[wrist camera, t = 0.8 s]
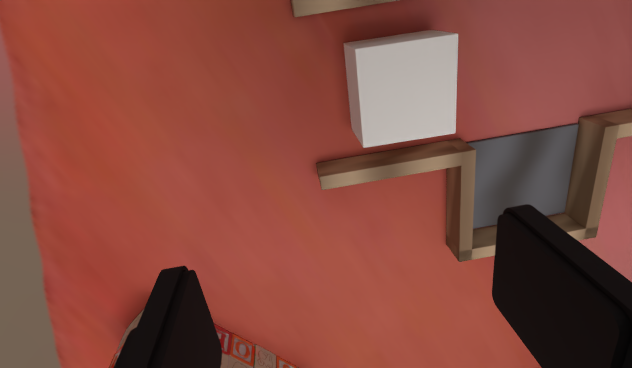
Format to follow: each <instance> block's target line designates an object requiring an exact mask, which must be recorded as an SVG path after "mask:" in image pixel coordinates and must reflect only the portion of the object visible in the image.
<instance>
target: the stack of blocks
mask: <svg viewBox="0 0 632 368" xmlns="http://www.w3.org/2000/svg"><path fill="white" fill-rule="evenodd" d="M143 311H144V310H143ZM143 311H142V312H141V313H140V314H139V315H138V316H137V317H136V318H135V319H134V321H133V322H132V323H131V324H130V325H129V327H128V328H127V329H126V331H125V333H124V335H123V337H122V340H121V342H120V344H119V347H118V349H117V352H116V353H115V355H114V357H113V359H112V361H111V364H110V366H109V368H113V367H114V365H115V363H116V361H117V358H118V356H119V354H120V352H121V349H122V347H123V345H124V343H125V340H126V338H127V336H128V334H129V333H130V331H131V330H132V329H134V328H136V327H137V325H138V323H139V320H140V318H141V316H142V313H143ZM214 326H215V329H216V331H217V334H218V337H219V340H220V343H221V347H222V361H221V368H297V367H296V366H295V365H293V364H291V363H289V362H288V361H286V360H284V359H282V358H280V357H278V356H276V355H275V354H273V353H271V352H269V351H267V350H265V349H264V348H262V347H260V346H258V345H254V344H252V343H251V342H248V341H246V340H245V339H243V338H241V337H239V336H237V335H235V334H232V333H230V332H229V331H227V330H225V329H223V328H221V327H219V326H217V325H216V324H214Z"/></svg>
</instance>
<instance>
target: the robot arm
mask: <svg viewBox="0 0 632 368" xmlns="http://www.w3.org/2000/svg"><path fill="white" fill-rule="evenodd" d="M492 296H493V300H494V303H495V305H496V306H497V308H498V309H499V311H500V312H501V313H502V315H503V316H504V317H505V319H506V320H507V321H508V323H509V324H510V325H511V327H512V328H513V329H514V331H515V332H516V333H517V335H518V336H519V337H520V339H521V340H522V342H523V343H524V344H525V346H526V347H527V348H528V350H529V351H530V352H531V354H532V355H533V356H534V358H535V359H536V360H537V362H538V363H539V364H540V366H541V367H542V368H632V282H630V281H629V280H628V279H627V278H625V277H624V276H623V275H621V274H620V273H619V272H618V271H616V270H615V269H614V268H612V267H611V266H610V265H608V264H607V263H606V262H605V261H603V260H602V259H601V258H599V257H598V256H597V255H595V254H594V253H593V252H592V251H590V250H589V249H588V248H586V247H585V246H584V245H582V244H581V243H580V242H579V241H577V240H576V239H575V238H573V237H572V236H571V235H569V234H568V233H567V232H566V231H564V230H563V229H562V228H560V227H559V226H558V225H557V224H555V223H554V222H553V221H551V220H550V219H549V218H547V217H546V216H545V215H544V214H542V213H541V212H540V211H538V210H537V209H536V208H534V207H533V206H532V205H530V204H525V205H520V206H514V207H509V208H506V209H505V210H504V211H503V214H501V215H499V217H498V220H497V233H496V246H495V260H494V273H493V287H492ZM221 361H222V347H221V343H220V340H219V337H218V334H217V331H216V329H215V326H214V323H213V320H212V317H211V314H210V312H209V309H208V306H207V303H206V300H205V297H204V295H203V292H202V289H201V286H200V283H199V281H198V278H197V275H196V273H195V271H194V270H190V271H188V269H187V267H186V266H180V267H175V268H169V269H163V270H161V272H160V274H159V276H158V278H157V281H156V283H155V285H154V288H153V290H152V292H151V295H150V297H149V299H148V302H147V304H146V306H145V309H144V311H143V313H142V316H141V318H140V320H139V323H138V325H137V327H136V328H134V329H132V330H131V331H130V333H129V334H128V336H127V338H126V340H125V343H124V345H123V347H122V349H121V352H120V354H119V356H118V358H117V361H116V363H115V365H114V367H113V368H221Z"/></svg>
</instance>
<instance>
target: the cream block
mask: <svg viewBox="0 0 632 368" xmlns="http://www.w3.org/2000/svg"><path fill="white" fill-rule="evenodd" d="M344 54H345V64H346V75H347V85H348V96H349V106H350V117H351V127H352V130H353V132H354V134H355V135H356V137H357V138H358V140H359V142H360V143H361V145H362V146H363V148H366V147H372V146H379V145H385V144H391V143H397V142H404V141H410V140H416V139H422V138H429V137H435V136H441V135H447V134H454V133H455V132H456V97H457V61H458V34H457V33H450V32H444V31H437V30H426V31H420V32H413V33H406V34H400V35H393V36H386V37H380V38H373V39H367V40H360V41H353V42H347V43H344Z"/></svg>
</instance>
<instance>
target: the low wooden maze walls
mask: <svg viewBox="0 0 632 368" xmlns="http://www.w3.org/2000/svg"><path fill="white" fill-rule="evenodd" d="M392 1H398V0H291V6H292V12H293V16H294V17H299V16H306V15H312V14H318V13H324V12H330V11H336V10H342V9H349V8H355V7H361V6H367V5H373V4H379V3H385V2H392ZM628 136H632V109H627V110H621V111H615V112H609V113H604V114H598V115H592V116H586V117H580V118H579V123H578V124H577V123H576V124H570V125H564V126H558V127H553V128H547V129H541V130H535V131H530V132H524V133H518V134H512V135H507V136H501V137H495V138H489V139H484V140H478V141H472V142H464V141H463V140H462V139H460V138H459V139H453V140H448V141H442V142H436V143H430V144H424V145H419V146H413V147H407V148H401V149H396V150H390V151H384V152H378V153H372V154H367V155H361V156H355V157H349V158H344V159H338V160H332V161H326V162H320V163H316V165H317V171H318V177H319V180H320V184H321V188H322V190H325V189H331V188H337V187H342V186H348V185H354V184H359V183H365V182H371V181H377V180H382V179H388V178H394V177H399V176H405V175H411V174H417V173H422V172H428V171H434V170H439V169H445V168H447V210H446V244H447V246H448V247H449V248H450V250H451V251H452V253H453V254H454V255H455V257H456V258H457V260H458V261H459V262H462V261H467V260H473V259H478V258H484V257H489V256H495V246H496V233H497V220H498V217H499V215H501V214H503V211H504V210H505V209H506V208H509V207H514V206H520V205H525V204H530V205H532V206H533V207H534V208H536V209H537V210H538V211H540V212H541V213H542V214H544V215H545V216H546V217H547V218H549V219H550V220H551V221H553V222H554V223H555V224H557V225H558V226H559V227H560V228H562V229H563V230H564V231H566V232H567V233H568V234H569V235H571V236H572V237H573V238H575V239H576V240H583V239H588V238H594V237H596V235H597V230H598V225H599V220H600V216H601V211H602V206H603V201H604V196H605V192H606V187H607V182H608V177H609V173H610V168H611V163H612V158H613V154H614V149H615V144H616V139H617V138H622V137H628ZM558 213H562V214H558ZM553 214H556V215H553ZM547 215H551V216H547ZM491 225H495V226H491ZM486 226H489V227H486ZM480 227H484V228H480ZM475 228H478V229H475Z"/></svg>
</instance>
